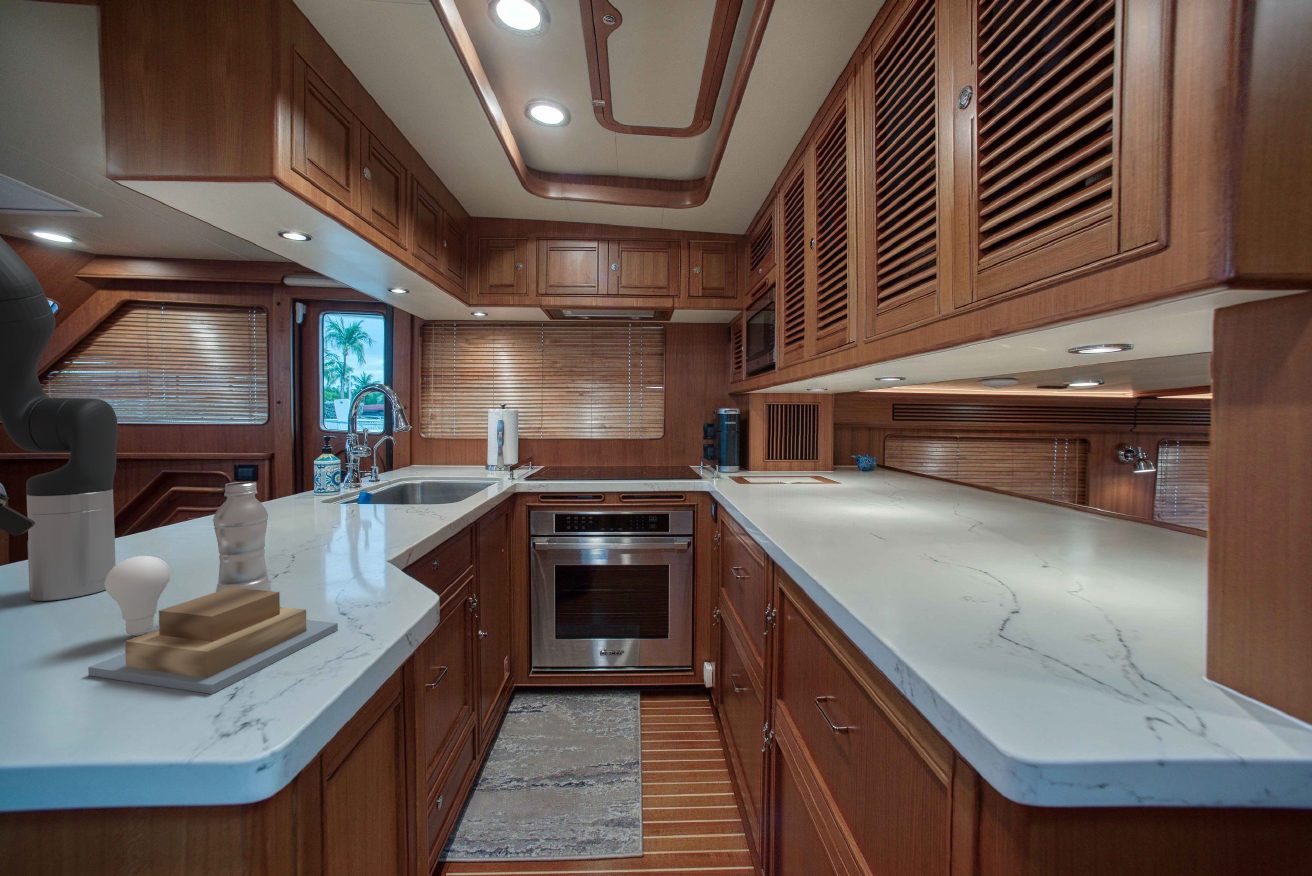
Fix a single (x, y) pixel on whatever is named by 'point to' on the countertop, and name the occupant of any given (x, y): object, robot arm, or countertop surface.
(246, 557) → the plastic bottle
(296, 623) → the block tower
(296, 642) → the slate board
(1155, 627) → the countertop surface
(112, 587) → the lightbulb
